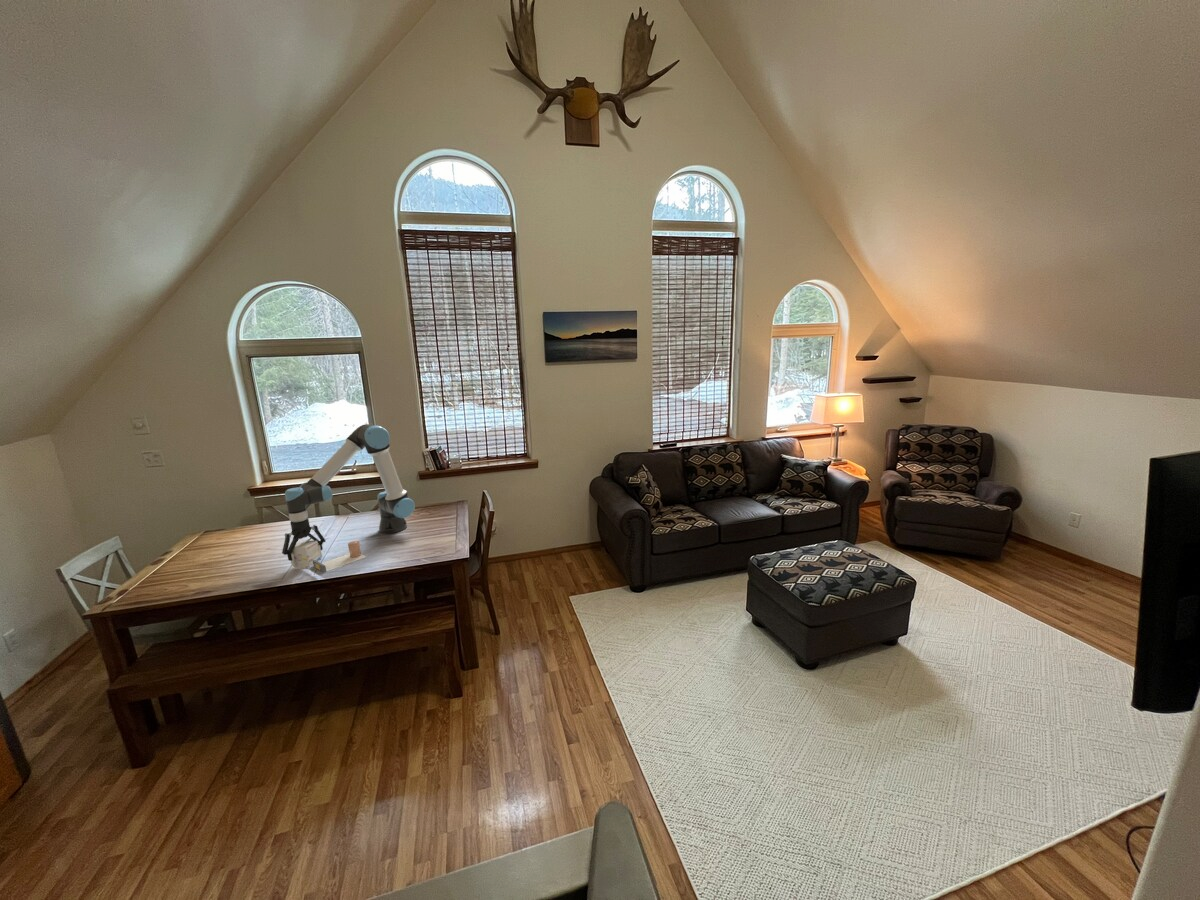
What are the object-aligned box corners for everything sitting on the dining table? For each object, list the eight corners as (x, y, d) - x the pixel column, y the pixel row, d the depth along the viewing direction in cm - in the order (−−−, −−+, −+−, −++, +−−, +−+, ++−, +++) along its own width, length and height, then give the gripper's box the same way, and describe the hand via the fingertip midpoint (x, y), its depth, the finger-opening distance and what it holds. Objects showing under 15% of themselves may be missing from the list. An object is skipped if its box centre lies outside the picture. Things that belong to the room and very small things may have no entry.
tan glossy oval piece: (358, 552, 243) (356, 540, 241) (363, 555, 240) (360, 542, 238) (348, 556, 239) (346, 543, 238) (353, 558, 236) (350, 545, 235)
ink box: (306, 561, 239) (301, 536, 236) (321, 561, 238) (317, 536, 235) (293, 569, 231) (288, 543, 228) (309, 569, 230) (304, 543, 227)
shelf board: (355, 554, 245) (354, 545, 244) (366, 559, 238) (365, 551, 237) (313, 569, 230) (311, 560, 229) (323, 575, 222) (322, 566, 222)
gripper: (321, 511, 241) (329, 551, 245) (268, 525, 223) (277, 568, 227) (328, 513, 236) (335, 554, 241) (274, 529, 218) (283, 572, 223)
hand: (307, 561), depth 234 cm, fingers closed on ink box, 11 cm apart
